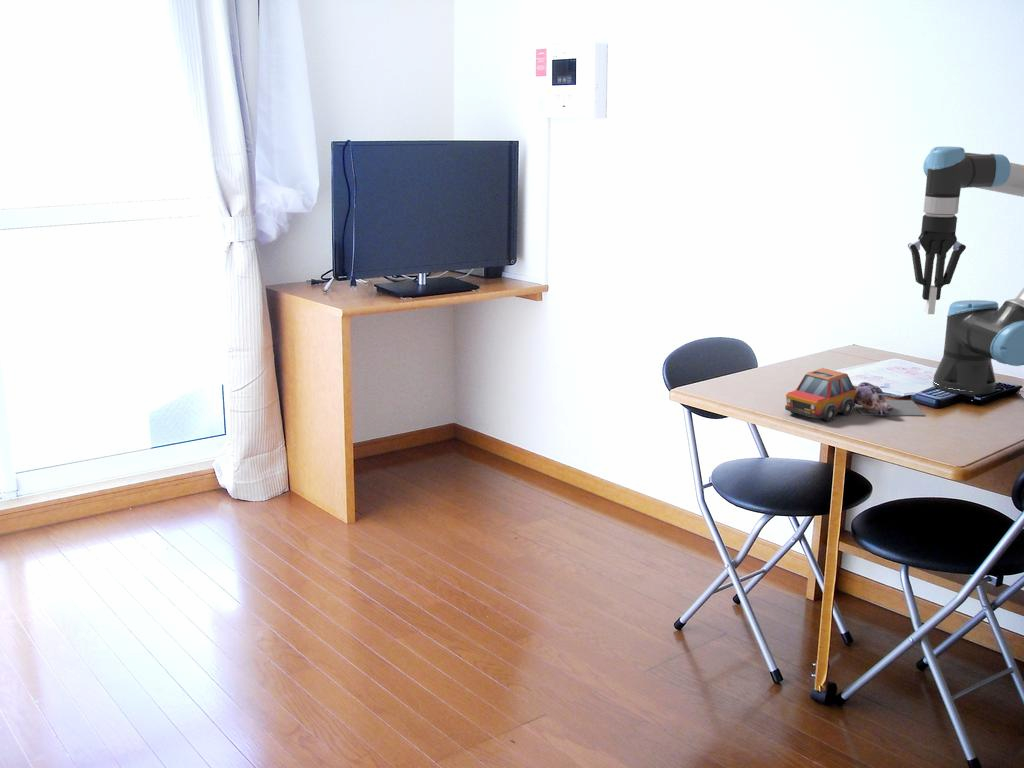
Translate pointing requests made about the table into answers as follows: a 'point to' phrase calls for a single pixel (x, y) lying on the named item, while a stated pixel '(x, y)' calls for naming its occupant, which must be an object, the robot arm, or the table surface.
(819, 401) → the toy car
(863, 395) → the skull
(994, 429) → the table surface
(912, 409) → the chock mat
